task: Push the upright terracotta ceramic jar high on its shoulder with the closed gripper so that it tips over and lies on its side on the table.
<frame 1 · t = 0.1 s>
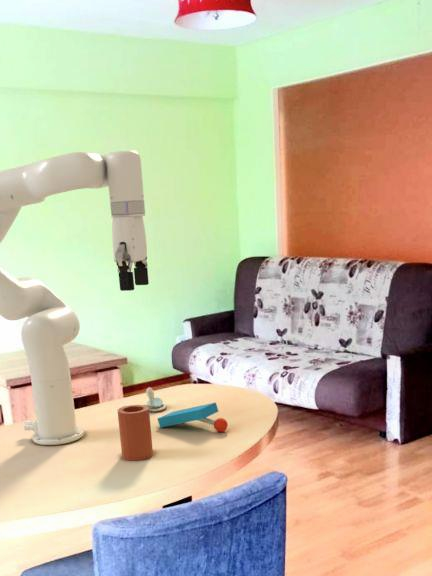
hand: (134, 287, 168), 37 cm above the table, tool pointing down, fingers open, 9 cm apart
lever: (195, 428, 186), on the table
jar: (137, 455, 168), on the table
pacifier: (155, 410, 204), on the table
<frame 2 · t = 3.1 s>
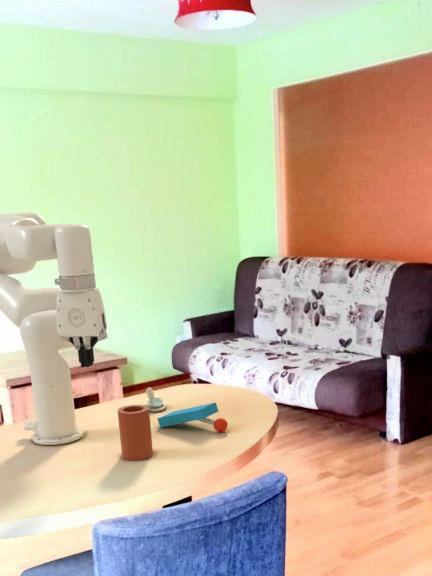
hand: (87, 365, 165), 21 cm above the table, tool pointing down, fingers closed
nothing on the table moved.
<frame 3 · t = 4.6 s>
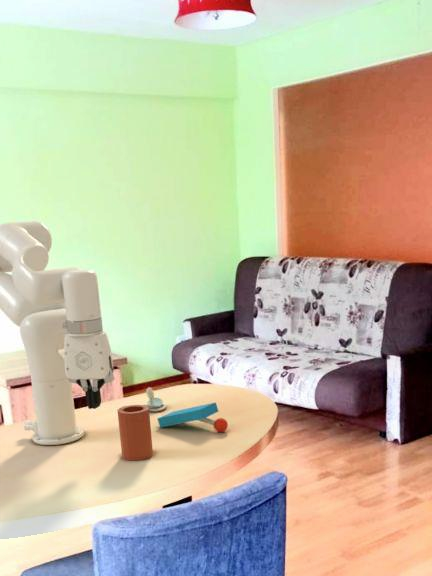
hand: (94, 407, 167), 11 cm above the table, tool pointing down, fingers closed
nothing on the table moved.
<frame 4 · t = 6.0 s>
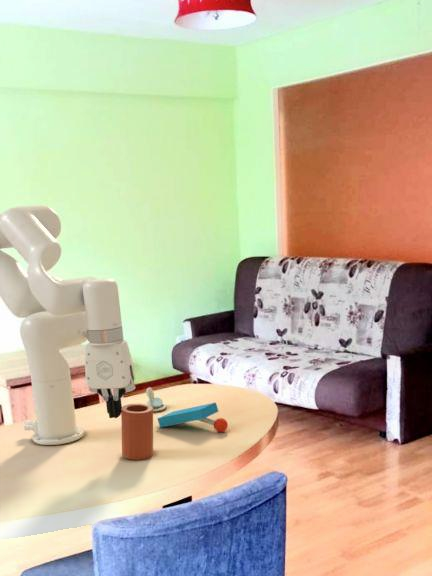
hand: (115, 416, 166), 9 cm above the table, tool pointing down, fingers closed
jar: (137, 453, 168), on the table, tilted 5°, touching gripper
everything else where it was.
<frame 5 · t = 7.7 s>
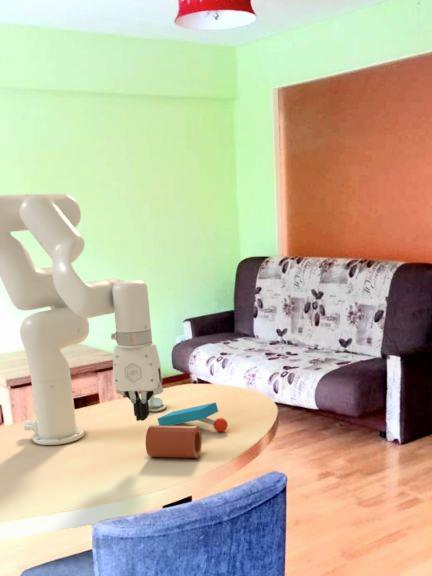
hand: (142, 418, 165), 9 cm above the table, tool pointing down, fingers closed
jar: (150, 441, 166), point 4 cm above the table, tilted 90°
everything else where it was.
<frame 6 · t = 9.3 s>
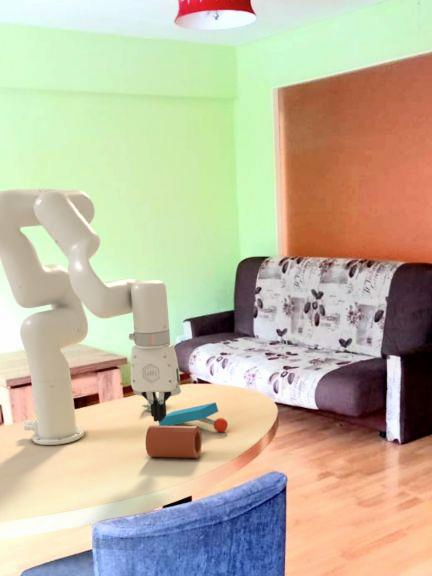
hand: (159, 419, 164), 9 cm above the table, tool pointing down, fingers closed
nothing on the table moved.
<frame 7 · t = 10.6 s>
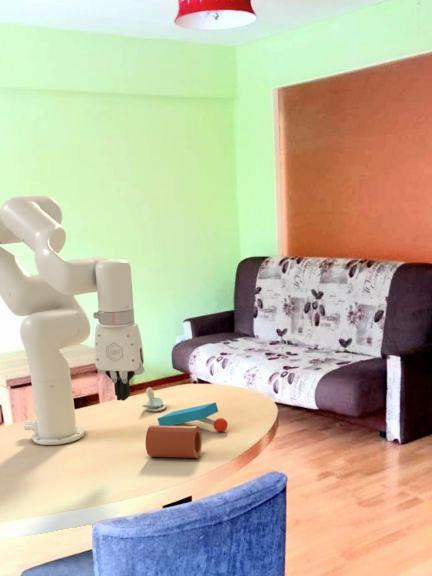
hand: (122, 398, 165), 13 cm above the table, tool pointing down, fingers closed
nothing on the table moved.
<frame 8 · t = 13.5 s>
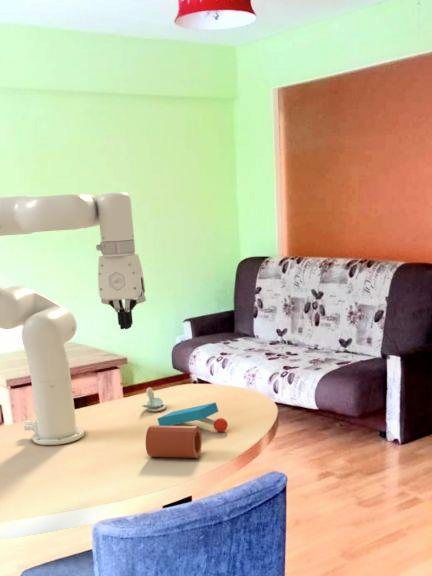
hand: (126, 328, 174), 27 cm above the table, tool pointing down, fingers closed
nothing on the table moved.
at the end: jar tilted 90°; jar inside the target area (0.5 cm from its centre), point 3.5 cm above the table; the gripper is holding nothing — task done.
